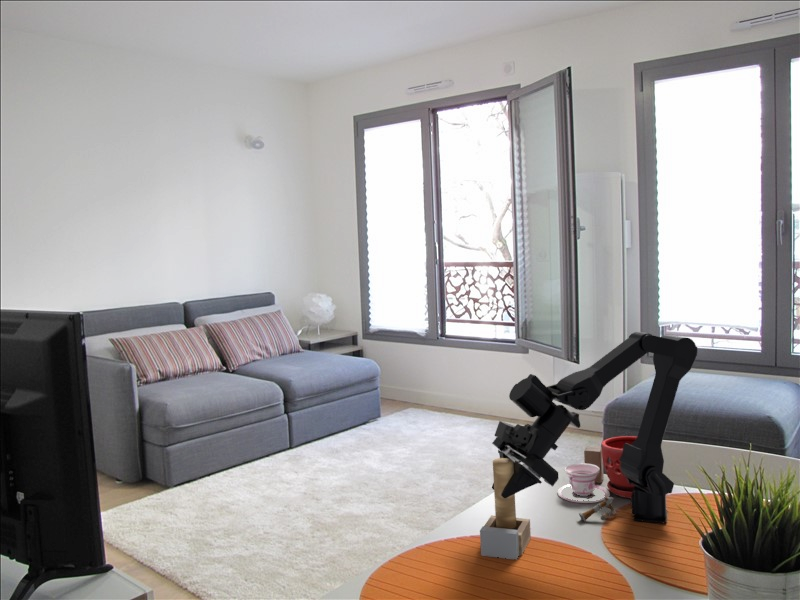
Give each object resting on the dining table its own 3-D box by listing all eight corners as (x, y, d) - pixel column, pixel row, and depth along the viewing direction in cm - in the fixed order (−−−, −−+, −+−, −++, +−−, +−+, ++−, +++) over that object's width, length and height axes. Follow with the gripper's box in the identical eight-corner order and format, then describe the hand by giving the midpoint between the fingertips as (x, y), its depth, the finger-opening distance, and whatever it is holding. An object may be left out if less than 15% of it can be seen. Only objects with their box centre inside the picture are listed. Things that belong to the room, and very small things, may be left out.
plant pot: (672, 489, 160) (670, 439, 159) (645, 506, 151) (644, 453, 150) (620, 478, 170) (618, 431, 169) (592, 494, 161) (590, 443, 160)
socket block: (530, 538, 139) (529, 519, 138) (521, 555, 131) (520, 535, 131) (492, 534, 142) (491, 515, 142) (481, 550, 134) (480, 530, 134)
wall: (519, 555, 132) (518, 530, 131) (517, 559, 130) (515, 534, 129) (484, 551, 134) (482, 526, 134) (481, 555, 132) (479, 530, 132)
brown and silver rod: (622, 513, 146) (613, 496, 146) (590, 533, 145) (581, 515, 145) (617, 510, 148) (609, 493, 147) (586, 529, 147) (577, 512, 146)
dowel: (520, 523, 137) (516, 460, 136) (509, 530, 134) (506, 465, 133) (502, 519, 139) (499, 457, 138) (492, 526, 136) (488, 462, 135)
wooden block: (601, 483, 167) (600, 451, 166) (585, 482, 169) (583, 450, 168) (603, 478, 171) (602, 446, 170) (587, 477, 172) (586, 445, 172)
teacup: (576, 482, 169) (575, 457, 169) (620, 493, 160) (619, 467, 160) (547, 496, 161) (546, 470, 161) (591, 508, 153) (590, 481, 152)
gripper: (498, 397, 145) (452, 456, 142) (540, 417, 127) (488, 484, 125) (534, 429, 147) (489, 487, 145) (580, 452, 130) (530, 519, 127)
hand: (498, 493), depth 136 cm, fingers closed on dowel, 4 cm apart
